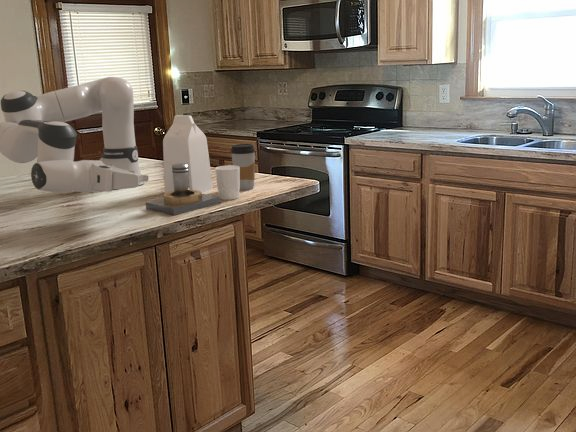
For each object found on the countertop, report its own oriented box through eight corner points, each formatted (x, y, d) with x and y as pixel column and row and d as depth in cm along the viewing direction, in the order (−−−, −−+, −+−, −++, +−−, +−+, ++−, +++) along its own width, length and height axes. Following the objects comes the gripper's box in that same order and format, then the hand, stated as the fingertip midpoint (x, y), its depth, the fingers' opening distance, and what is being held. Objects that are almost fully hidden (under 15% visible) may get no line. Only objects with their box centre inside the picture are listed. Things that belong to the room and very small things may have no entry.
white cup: (217, 195, 205) (215, 166, 203) (241, 194, 206) (239, 164, 203) (216, 201, 197) (214, 170, 195) (241, 199, 198) (239, 168, 196)
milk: (213, 189, 216) (207, 114, 209) (193, 196, 206) (186, 117, 199) (185, 186, 221) (179, 113, 214) (164, 193, 211) (157, 117, 205)
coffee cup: (253, 191, 210) (251, 147, 206) (230, 191, 211) (227, 147, 208) (259, 186, 218) (257, 143, 214) (236, 185, 219) (234, 143, 215)
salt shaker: (174, 202, 189) (171, 166, 187) (174, 198, 194) (172, 163, 191) (190, 201, 190) (188, 165, 187) (191, 197, 195) (188, 162, 192)
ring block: (174, 215, 182) (172, 202, 181) (146, 208, 191) (145, 196, 190) (220, 203, 194) (219, 190, 193) (192, 197, 204) (191, 185, 203)
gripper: (80, 181, 182) (124, 181, 190) (108, 192, 166) (155, 191, 175) (81, 160, 181) (125, 160, 189) (109, 169, 165) (156, 169, 174)
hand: (140, 175), depth 182 cm, fingers open, 8 cm apart
